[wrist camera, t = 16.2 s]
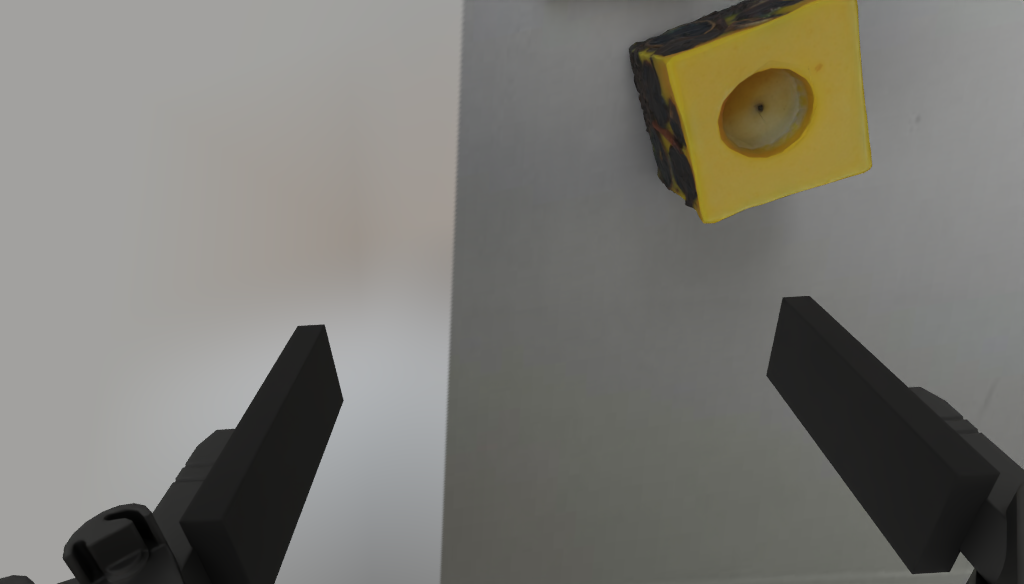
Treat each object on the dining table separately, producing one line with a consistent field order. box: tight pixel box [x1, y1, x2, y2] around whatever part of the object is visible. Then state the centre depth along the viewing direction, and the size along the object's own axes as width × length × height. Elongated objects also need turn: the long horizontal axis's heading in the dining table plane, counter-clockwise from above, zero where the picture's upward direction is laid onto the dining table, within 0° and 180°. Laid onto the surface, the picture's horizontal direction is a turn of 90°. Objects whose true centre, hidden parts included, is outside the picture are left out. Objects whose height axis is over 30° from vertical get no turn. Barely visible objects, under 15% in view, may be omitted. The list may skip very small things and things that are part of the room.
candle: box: [629, 0, 872, 223], centre depth 34 cm, size 10×10×10 cm
